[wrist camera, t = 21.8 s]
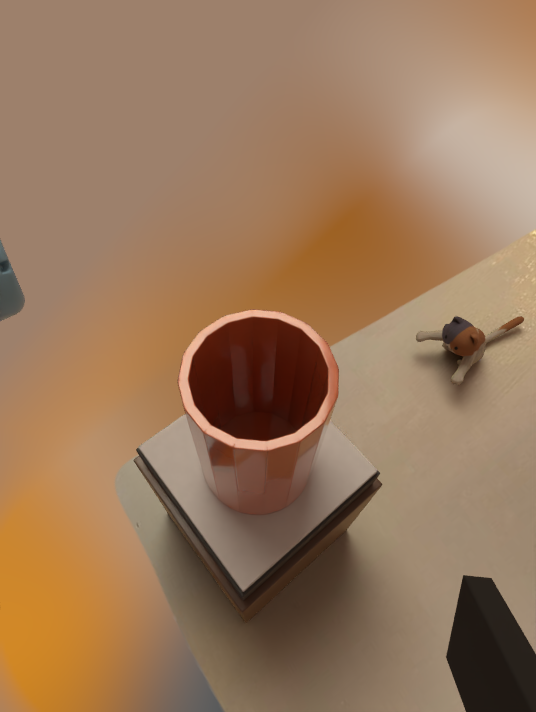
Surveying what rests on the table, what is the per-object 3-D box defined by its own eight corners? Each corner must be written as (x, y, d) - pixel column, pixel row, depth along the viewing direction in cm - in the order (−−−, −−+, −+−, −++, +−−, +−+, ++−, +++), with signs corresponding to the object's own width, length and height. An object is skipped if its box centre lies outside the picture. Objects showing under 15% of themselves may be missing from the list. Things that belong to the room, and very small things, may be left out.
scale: (140, 457, 36) (131, 442, 33) (265, 368, 40) (266, 349, 37) (243, 600, 31) (242, 597, 28) (373, 483, 35) (382, 470, 33)
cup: (181, 452, 33) (147, 363, 23) (264, 390, 35) (269, 286, 25) (248, 540, 30) (245, 485, 20) (334, 466, 33) (371, 384, 22)
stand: (166, 511, 49) (132, 459, 36) (265, 435, 54) (268, 363, 40) (245, 623, 44) (242, 613, 31) (346, 529, 49) (383, 484, 35)
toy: (406, 349, 60) (426, 308, 53) (496, 303, 64) (527, 260, 57) (446, 398, 57) (474, 362, 50) (539, 347, 61) (577, 306, 54)
